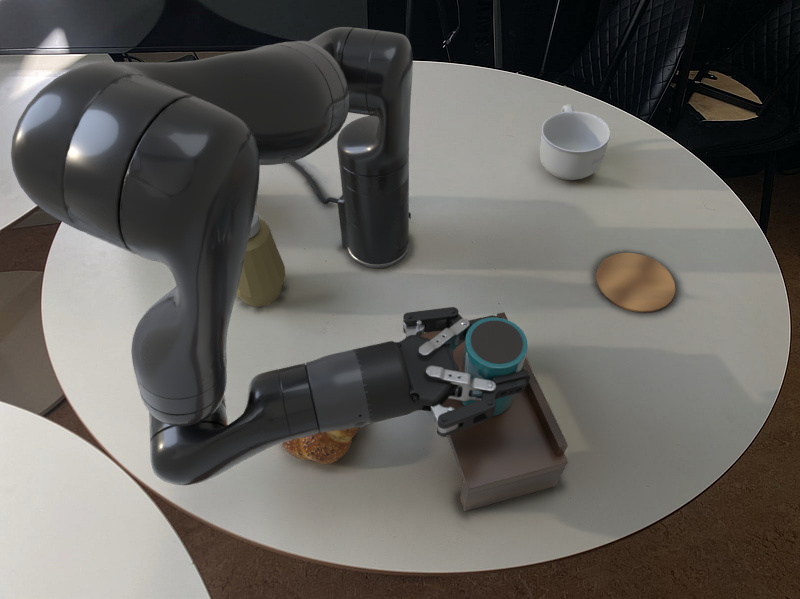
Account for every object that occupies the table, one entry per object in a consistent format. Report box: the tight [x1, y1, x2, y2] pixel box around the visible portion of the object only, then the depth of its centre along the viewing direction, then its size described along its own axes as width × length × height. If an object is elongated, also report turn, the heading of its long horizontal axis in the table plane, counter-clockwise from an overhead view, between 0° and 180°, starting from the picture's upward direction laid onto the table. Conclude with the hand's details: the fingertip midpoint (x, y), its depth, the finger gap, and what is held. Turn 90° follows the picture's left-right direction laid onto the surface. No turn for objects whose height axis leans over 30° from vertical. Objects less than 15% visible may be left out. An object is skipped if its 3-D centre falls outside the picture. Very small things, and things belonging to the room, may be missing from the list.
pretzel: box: [282, 427, 360, 465], centre depth 72 cm, size 12×11×4 cm
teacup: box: [539, 104, 612, 181], centre depth 100 cm, size 14×11×8 cm
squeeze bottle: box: [236, 210, 286, 308], centre depth 79 cm, size 8×8×18 cm
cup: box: [459, 317, 529, 416], centre depth 64 cm, size 6×6×10 cm
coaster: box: [595, 252, 676, 313], centre depth 86 cm, size 11×11×1 cm
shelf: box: [421, 311, 569, 512], centre depth 70 cm, size 20×11×8 cm, turn 15°
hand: (514, 350), depth 62 cm, fingers closed on cup, 6 cm apart
